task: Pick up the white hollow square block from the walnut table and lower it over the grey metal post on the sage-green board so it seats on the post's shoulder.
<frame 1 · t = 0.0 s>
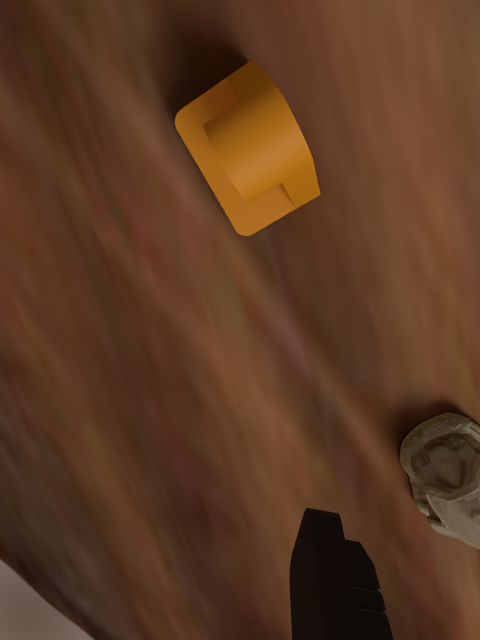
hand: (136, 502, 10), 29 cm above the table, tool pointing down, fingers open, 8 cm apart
ceramic model: (450, 465, 44), on the table
bracket: (248, 156, 34), on the table
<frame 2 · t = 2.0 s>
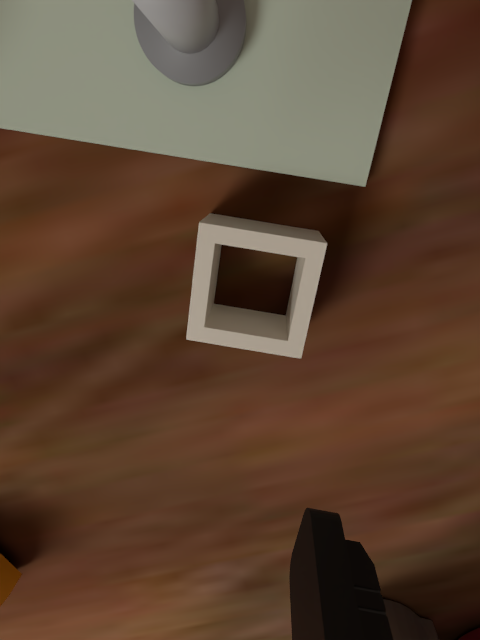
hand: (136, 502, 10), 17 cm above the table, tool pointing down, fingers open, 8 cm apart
white hollow square block: (255, 274, 25), on the table
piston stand: (196, 31, 21), on the table
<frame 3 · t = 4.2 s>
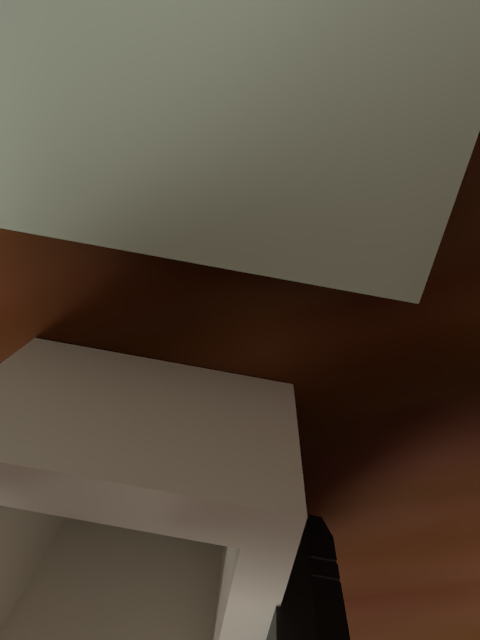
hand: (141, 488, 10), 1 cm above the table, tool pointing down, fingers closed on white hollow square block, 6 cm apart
white hollow square block: (152, 464, 11), on the table, touching gripper
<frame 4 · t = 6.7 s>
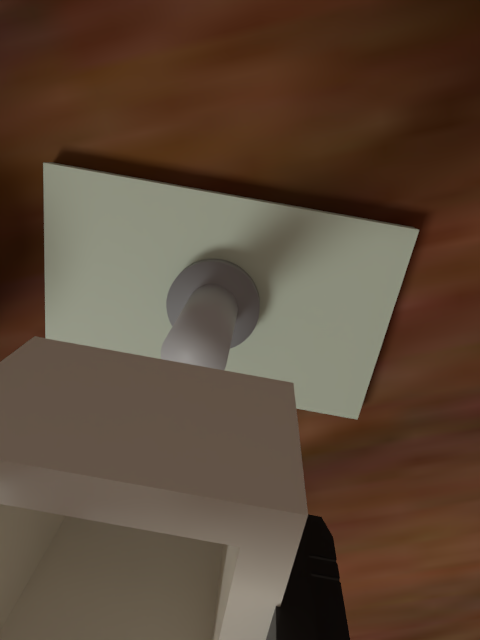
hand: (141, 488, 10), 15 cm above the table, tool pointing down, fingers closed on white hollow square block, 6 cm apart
white hollow square block: (152, 463, 11), point 14 cm above the table, touching gripper
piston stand: (216, 297, 25), on the table
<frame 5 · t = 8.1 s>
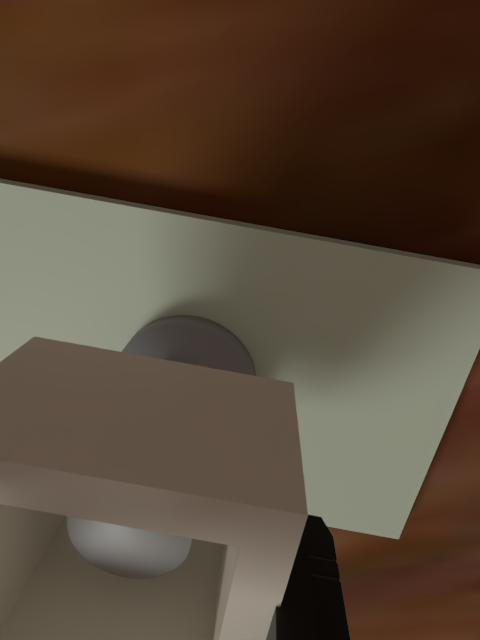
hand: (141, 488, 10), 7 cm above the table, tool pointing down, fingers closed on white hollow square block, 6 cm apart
white hollow square block: (152, 463, 11), point 6 cm above the table, touching gripper
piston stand: (192, 366, 17), on the table
when the fingers open (4 cm above the table, at t = 9.3 s): white hollow square block stays where it is, resting on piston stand.
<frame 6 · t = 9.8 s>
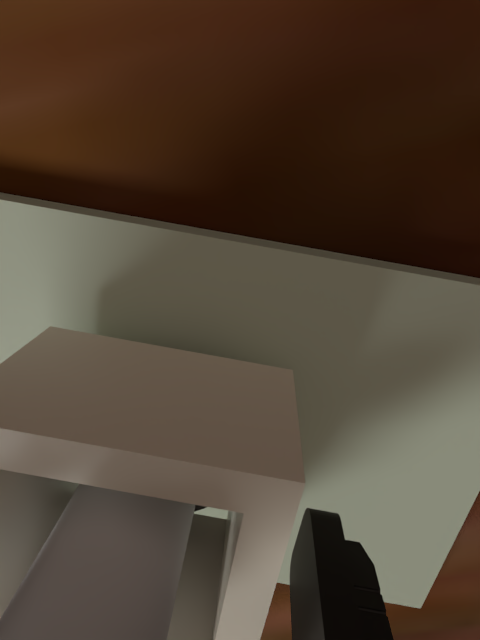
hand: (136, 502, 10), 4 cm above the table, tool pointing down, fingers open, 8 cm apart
white hollow square block: (160, 446, 12), point 2 cm above the table, touching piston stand
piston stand: (173, 406, 14), on the table
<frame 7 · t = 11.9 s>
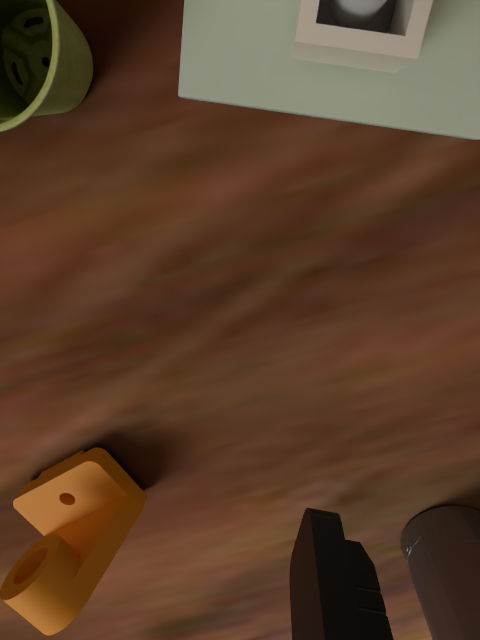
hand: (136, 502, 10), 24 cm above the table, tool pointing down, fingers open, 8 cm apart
plant pot: (50, 62, 27), on the table
white hollow square block: (355, 1, 24), point 2 cm above the table, touching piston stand
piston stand: (347, 12, 25), on the table
bracket: (86, 483, 42), on the table
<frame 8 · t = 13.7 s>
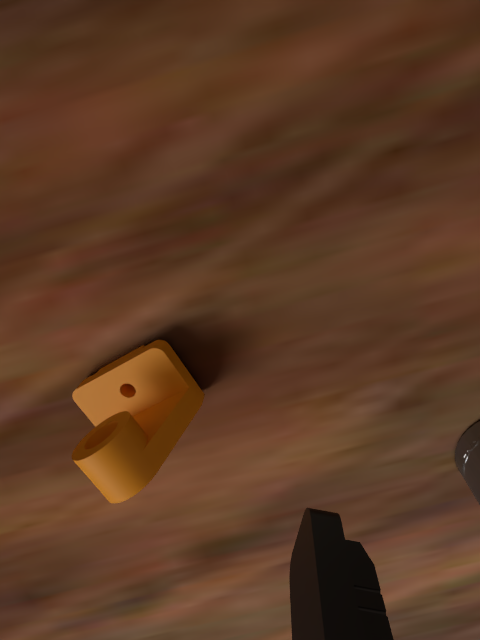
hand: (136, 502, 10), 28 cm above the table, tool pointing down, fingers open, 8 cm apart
bracket: (143, 383, 42), on the table
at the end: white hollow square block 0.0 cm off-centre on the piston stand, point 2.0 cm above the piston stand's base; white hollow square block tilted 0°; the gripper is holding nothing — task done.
